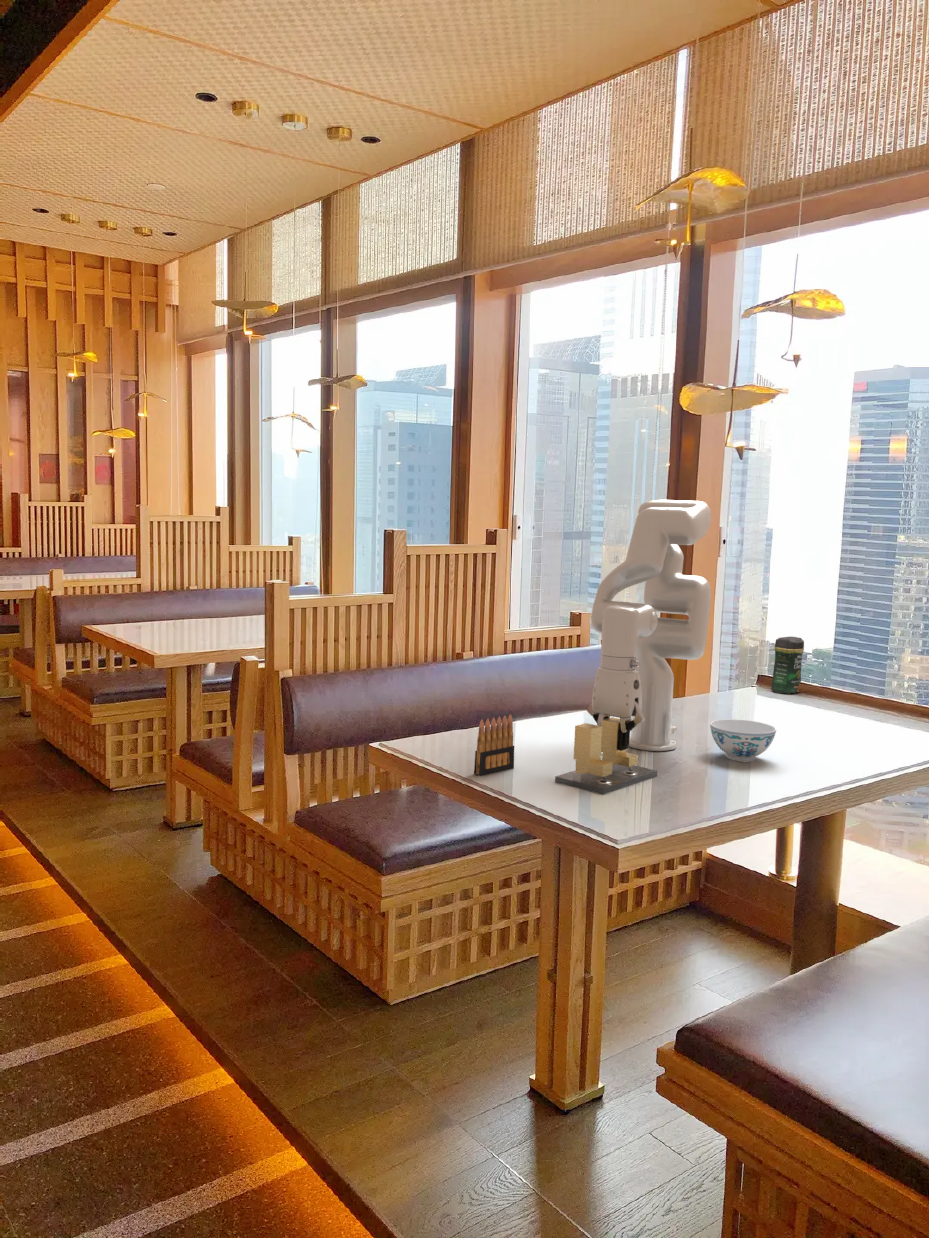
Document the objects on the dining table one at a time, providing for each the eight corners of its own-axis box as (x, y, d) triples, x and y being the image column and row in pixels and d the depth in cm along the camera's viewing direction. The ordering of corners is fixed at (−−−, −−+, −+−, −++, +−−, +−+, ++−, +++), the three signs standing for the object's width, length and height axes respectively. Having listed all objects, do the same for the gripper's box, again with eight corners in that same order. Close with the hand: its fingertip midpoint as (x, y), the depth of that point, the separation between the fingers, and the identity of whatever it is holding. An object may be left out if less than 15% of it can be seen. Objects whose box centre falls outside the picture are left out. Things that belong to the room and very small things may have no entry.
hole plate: (610, 765, 221) (613, 711, 220) (657, 775, 214) (660, 720, 212) (555, 781, 206) (557, 724, 204) (603, 794, 198) (606, 734, 197)
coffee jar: (788, 695, 320) (792, 638, 318) (767, 691, 326) (771, 636, 324) (804, 692, 327) (808, 637, 325) (783, 689, 333) (787, 634, 331)
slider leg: (609, 763, 216) (612, 717, 214) (637, 769, 211) (640, 722, 210) (599, 766, 213) (602, 719, 211) (627, 772, 208) (630, 725, 207)
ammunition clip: (508, 766, 217) (510, 713, 216) (514, 768, 216) (516, 714, 214) (473, 774, 210) (475, 719, 208) (479, 776, 208) (481, 720, 207)
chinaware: (780, 756, 236) (782, 725, 235) (765, 769, 223) (767, 736, 222) (718, 747, 243) (720, 716, 242) (700, 759, 230) (702, 726, 229)
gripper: (661, 667, 208) (656, 752, 210) (595, 657, 219) (590, 738, 221) (642, 670, 202) (637, 757, 204) (575, 660, 213) (571, 743, 215)
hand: (613, 746), depth 212 cm, fingers closed on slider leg, 4 cm apart
